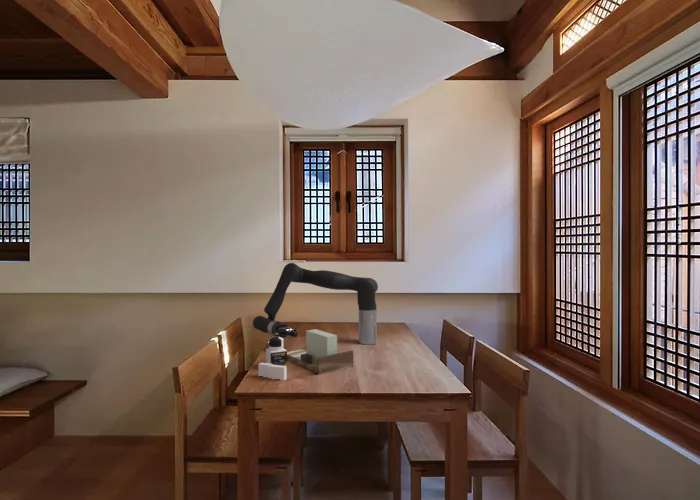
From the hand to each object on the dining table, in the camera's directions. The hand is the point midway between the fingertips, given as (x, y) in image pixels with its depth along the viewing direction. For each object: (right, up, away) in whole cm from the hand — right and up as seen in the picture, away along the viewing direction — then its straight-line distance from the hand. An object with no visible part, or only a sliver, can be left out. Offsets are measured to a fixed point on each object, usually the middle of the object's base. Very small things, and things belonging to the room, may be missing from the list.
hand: (295, 334), depth 197 cm
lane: (+9, -9, -11) cm, 17 cm away
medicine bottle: (-6, -10, -19) cm, 22 cm away
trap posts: (+11, -9, -15) cm, 20 cm away
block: (+13, -9, -17) cm, 23 cm away
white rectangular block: (-5, -10, -33) cm, 35 cm away
